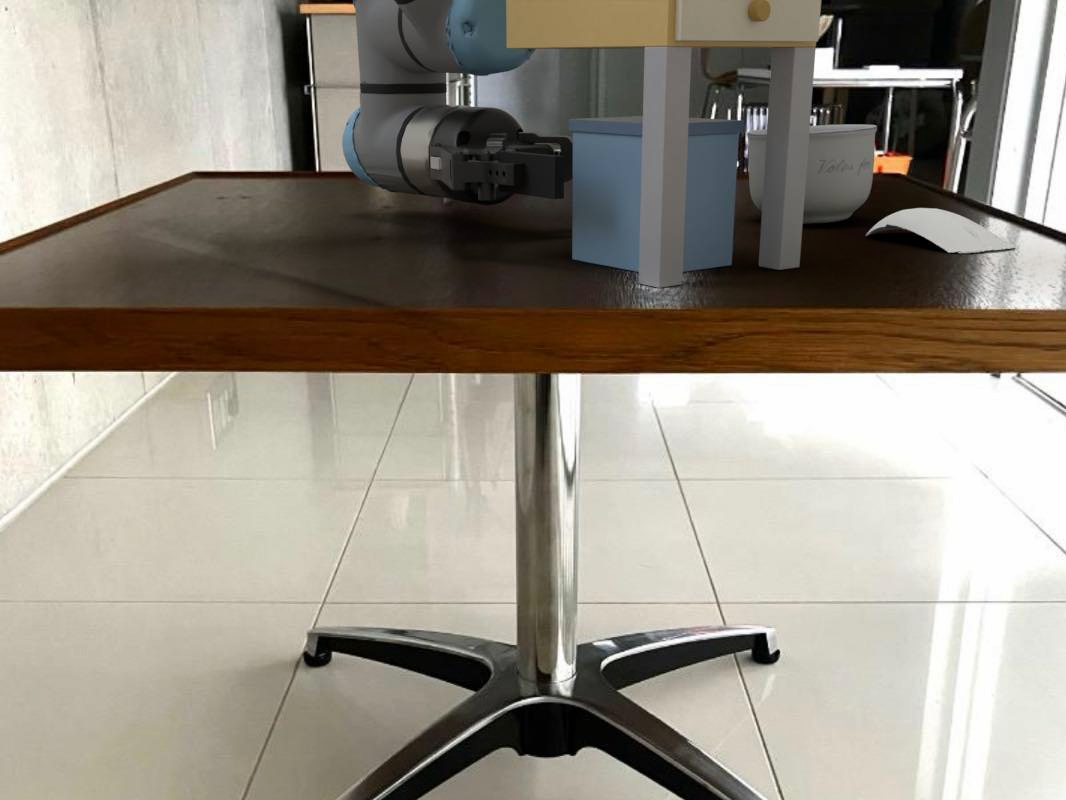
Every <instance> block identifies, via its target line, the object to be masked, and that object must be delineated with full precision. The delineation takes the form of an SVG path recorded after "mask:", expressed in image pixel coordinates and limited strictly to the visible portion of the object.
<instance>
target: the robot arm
mask: <svg viewBox="0 0 1066 800" xmlns="http://www.w3.org/2000/svg"><path fill="white" fill-rule="evenodd" d="M352 4H353V8H354V11H355V25H356V39H357V54H358V69H359V71H358V72H359V82H360V83H359V91H360V92H359V107H357V108H356V109H355V110H353V112H352V113H351V114H350V116H349V117H348V119H347V122H346V125H345V127H344V131H343V132H342V139H341V146H342V147H341V148H342V152H343V156H344V159H345V162H346V164H347V165H348V167H349V169H350V171H351V172H352V173H353V175H355V176H356V177H357V178H358V179H359V180H361V181H362V182H363V183H365V184H367V185H370V186H373V187H376V188H380V189H381V190H385V191H387V192H389V193H401V194H409V195H419V196H426V197H433V198H443V205H444V206H446V207H452V206H454V205H455V203H456V201H459V202H462V203H469V204H475V205H482V206H493V205H498V204H501V203H503V202H505V201H507V200H509V199H510V198H511V197H512V196H513V195H514V194H515V195H522V196H529V197H537V198H542V199H543V198H544V199H552V200H561V199H562V200H563V199H565V183H567V182H570V181H572V180H573V136H572V137H571V136H569V135H543V134H541V133H539V132H537V131H524V129H523V128H522V126H521V124H520V123H519V122H518V120H517V119H516V118H515V117H514V116H513V115H512V114H510V113H509V112H507V111H506V110H504V109H501V108H497V107H490V106H489V107H488V106H470V105H465V104H463V105H462V104H461V105H460V104H447V103H448V101H447V92H448V85H447V83H448V79H447V78H448V77H447V74H462V75H471V76H476V77H487V76H489V75H494V74H495V75H496V74H501V73H506V72H510V71H513V70H516V69H518V68H519V67H521V66H522V65H524V64H525V63H526V62H527V61H529V60H530V59H531V57H532V56H533V54H534V53H535V51H536V50H537V49H507V31H506V0H352ZM552 144H557V145H559V149H556V148H555V149H554V146H553V145H552Z"/></svg>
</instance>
